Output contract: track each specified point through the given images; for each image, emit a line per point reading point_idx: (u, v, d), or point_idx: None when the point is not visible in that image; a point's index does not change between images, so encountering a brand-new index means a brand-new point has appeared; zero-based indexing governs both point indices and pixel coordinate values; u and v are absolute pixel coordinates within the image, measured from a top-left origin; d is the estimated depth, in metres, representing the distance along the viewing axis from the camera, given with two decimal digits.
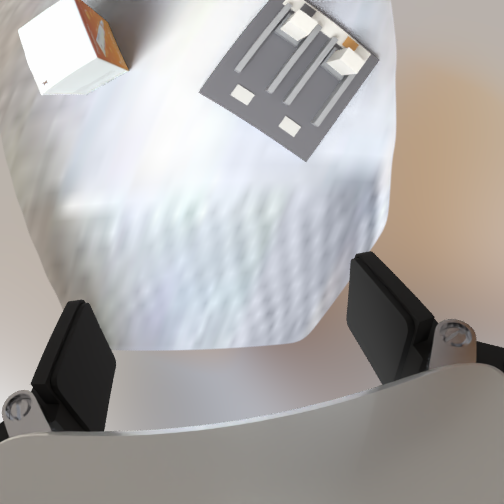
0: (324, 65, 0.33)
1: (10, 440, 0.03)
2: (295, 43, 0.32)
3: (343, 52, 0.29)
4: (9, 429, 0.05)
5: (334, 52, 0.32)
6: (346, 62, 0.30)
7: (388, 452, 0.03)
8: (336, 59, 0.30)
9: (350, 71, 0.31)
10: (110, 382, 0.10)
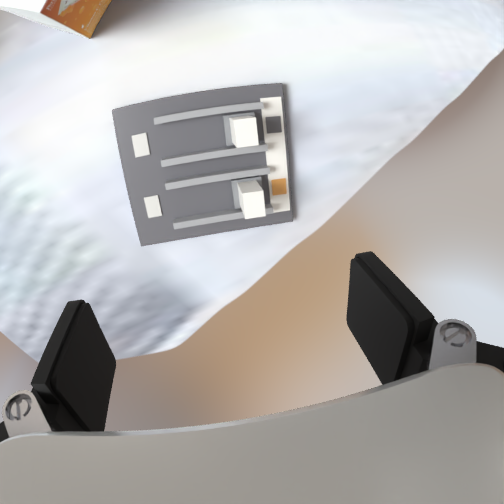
0: (233, 184, 0.34)
1: (10, 440, 0.03)
2: (228, 142, 0.31)
3: (254, 190, 0.30)
4: (9, 429, 0.05)
5: (253, 181, 0.33)
6: (244, 201, 0.30)
7: (388, 451, 0.03)
8: (242, 190, 0.31)
9: (243, 211, 0.32)
10: (110, 382, 0.10)
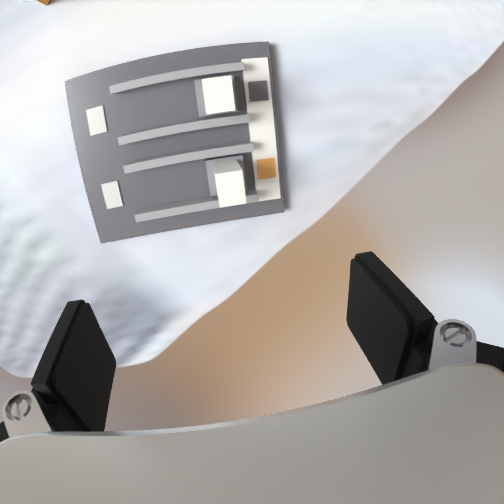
0: (207, 164, 0.26)
1: (10, 440, 0.03)
2: (200, 113, 0.24)
3: (230, 170, 0.23)
4: (9, 429, 0.05)
5: (233, 160, 0.26)
6: (218, 184, 0.23)
7: (388, 452, 0.03)
8: (216, 170, 0.24)
9: (218, 198, 0.24)
10: (110, 382, 0.10)
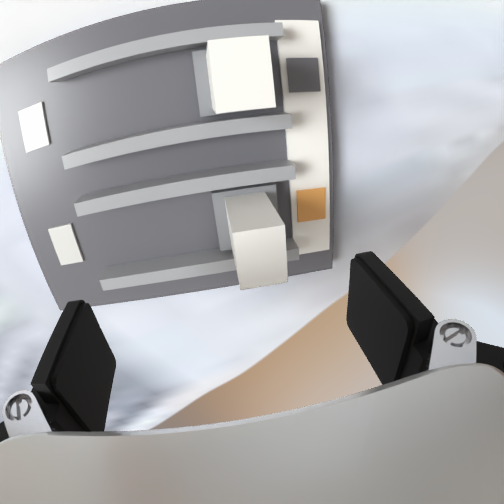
0: (215, 200, 0.16)
1: (10, 440, 0.03)
2: (203, 110, 0.13)
3: (261, 223, 0.12)
4: (9, 429, 0.05)
5: (260, 195, 0.15)
6: (238, 252, 0.12)
7: (388, 452, 0.03)
8: (232, 221, 0.13)
9: (236, 269, 0.14)
10: (110, 382, 0.10)
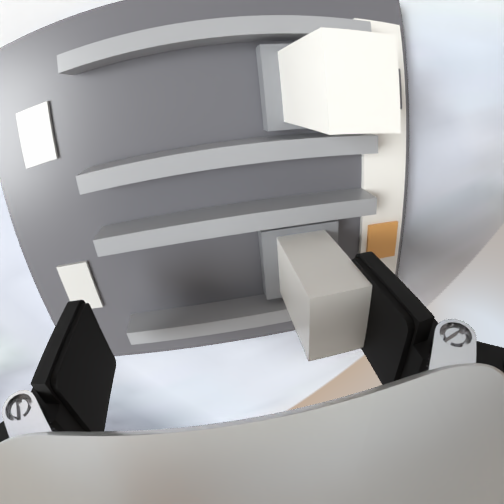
0: (265, 240, 0.13)
1: (10, 440, 0.03)
2: (272, 122, 0.11)
3: (342, 281, 0.09)
4: (9, 429, 0.05)
5: (321, 235, 0.12)
6: (314, 320, 0.09)
7: (388, 451, 0.03)
8: (302, 277, 0.10)
9: (301, 334, 0.11)
10: (110, 382, 0.10)
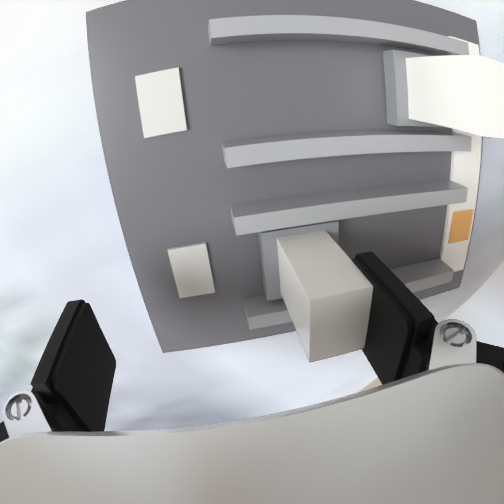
0: (265, 241, 0.12)
1: (10, 440, 0.03)
2: (400, 118, 0.11)
3: (342, 282, 0.09)
4: (9, 429, 0.05)
5: (322, 235, 0.12)
6: (314, 321, 0.09)
7: (387, 452, 0.03)
8: (302, 278, 0.10)
9: (301, 335, 0.11)
10: (110, 382, 0.10)
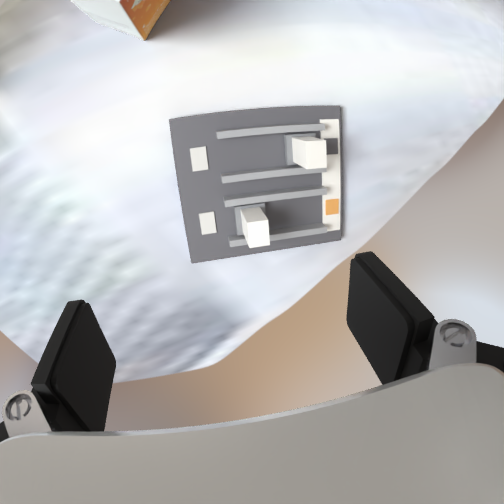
0: (236, 210, 0.33)
1: (10, 440, 0.03)
2: (289, 162, 0.32)
3: (258, 219, 0.30)
4: (9, 429, 0.05)
5: (257, 208, 0.33)
6: (249, 230, 0.30)
7: (388, 452, 0.03)
8: (246, 218, 0.31)
9: (247, 240, 0.31)
10: (110, 382, 0.10)
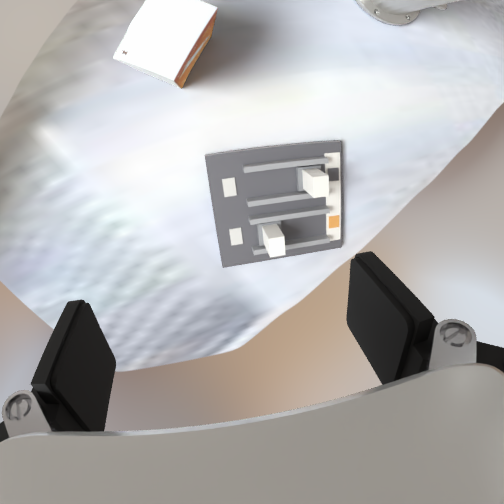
0: (258, 227, 0.43)
1: (10, 440, 0.03)
2: (300, 189, 0.41)
3: (277, 235, 0.40)
4: (9, 429, 0.05)
5: (275, 225, 0.43)
6: (270, 244, 0.40)
7: (388, 451, 0.03)
8: (267, 235, 0.40)
9: (268, 251, 0.41)
10: (110, 382, 0.10)
